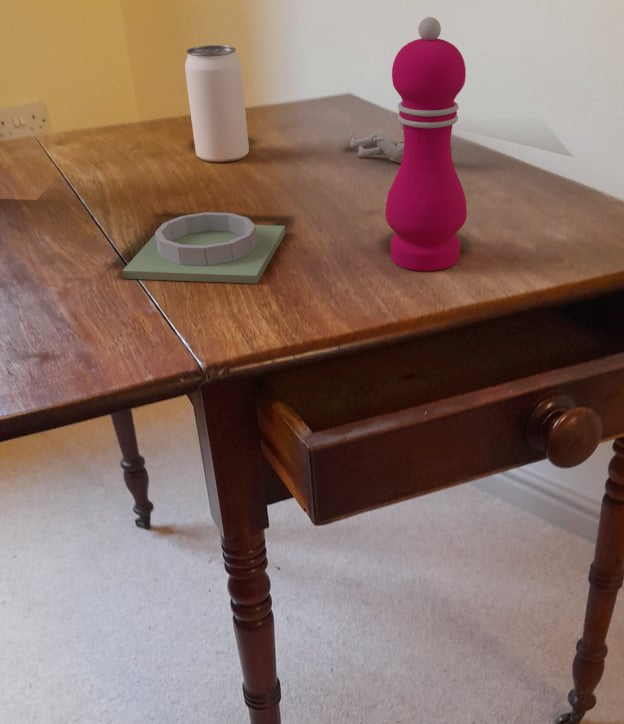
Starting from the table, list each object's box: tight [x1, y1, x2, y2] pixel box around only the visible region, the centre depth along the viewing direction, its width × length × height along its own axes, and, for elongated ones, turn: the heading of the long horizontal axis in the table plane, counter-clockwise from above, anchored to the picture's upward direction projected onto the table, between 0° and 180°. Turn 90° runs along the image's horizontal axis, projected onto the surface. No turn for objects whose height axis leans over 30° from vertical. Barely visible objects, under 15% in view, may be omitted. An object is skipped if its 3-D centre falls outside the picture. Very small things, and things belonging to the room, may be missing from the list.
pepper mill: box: [384, 16, 468, 272], centre depth 74 cm, size 7×7×20 cm
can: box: [184, 44, 250, 164], centre depth 103 cm, size 6×6×12 cm
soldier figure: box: [349, 112, 455, 164], centre depth 103 cm, size 8×5×12 cm
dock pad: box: [122, 211, 286, 285], centre depth 80 cm, size 12×12×2 cm
